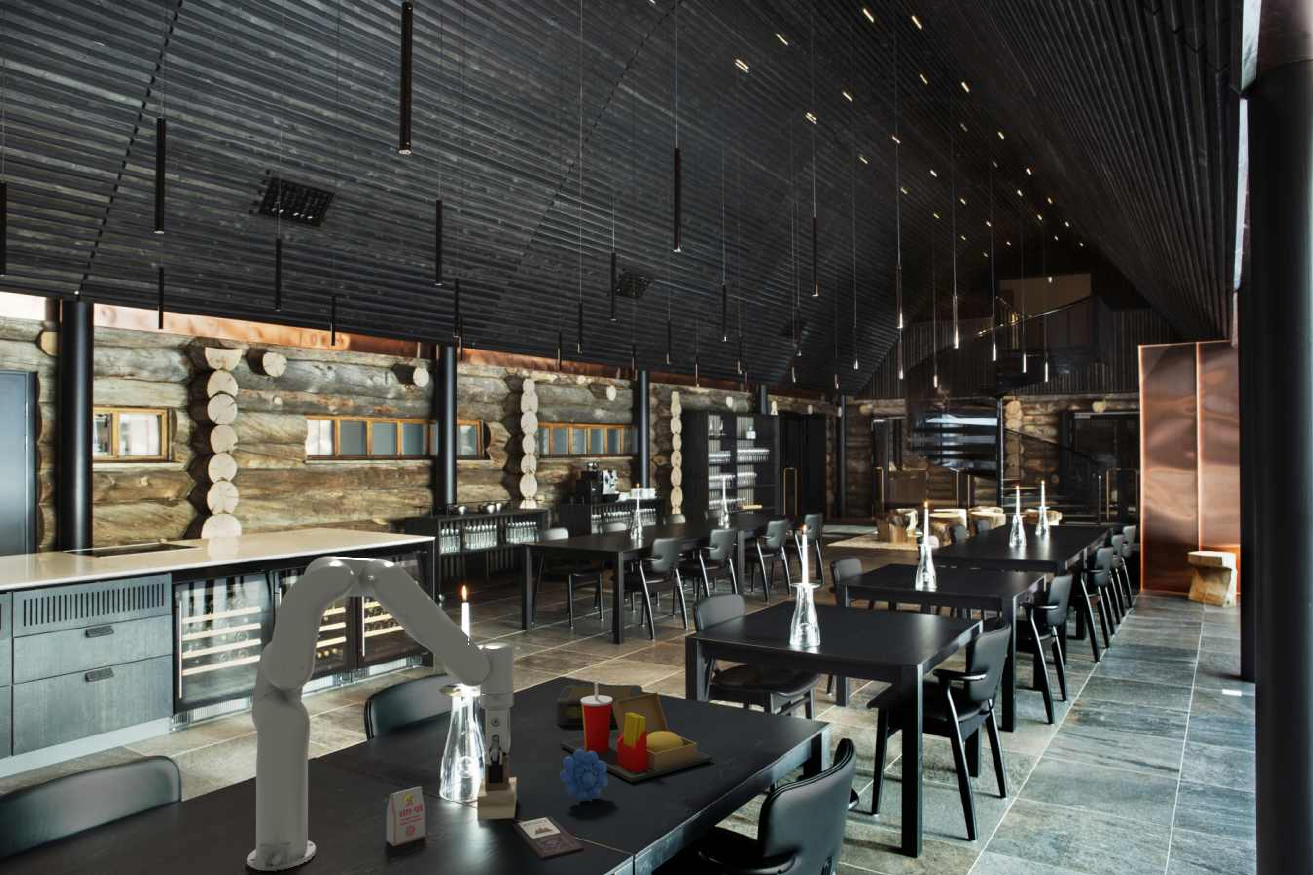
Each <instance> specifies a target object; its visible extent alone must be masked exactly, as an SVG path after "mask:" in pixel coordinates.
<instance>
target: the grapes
mask: <svg viewBox="0 0 1313 875" xmlns="http://www.w3.org/2000/svg"><path fill="white" fill-rule="evenodd" d="M562 765H563V767H564V769H563V770H561V771H560V774H559V778H560V780H561V781H562V782H563V783H565V784H566V785H565V791H566V793H567V795H569V796H577V798H578V800H579V801H581V802H587V801H588V800H589V799H590V797H592V798H593V799H595V798H596V799H598V798H600V796H602V795H601V794H602V789H601V788H605V787H606V786H608V784H609V779H608V776H607V775H606V774H605V773H606V772H607V771H608V770H607V766H606V763H605V762H604V761H600V760H599V761H598V755H597V753H596V752H595V751H589V752H587V754H585V752H584V751H583V750H581V749H577V750H576V751H575V752H574V753H573V755H572V756H566V757H565V758H564V759H563V764H562Z"/></svg>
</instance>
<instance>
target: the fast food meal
mask: <svg viewBox="0 0 1313 875" xmlns="http://www.w3.org/2000/svg"><path fill="white" fill-rule="evenodd" d="M594 685H595V695H594V696H587V697H584V698H582V699H581V703H582V714H583V725H584V726H583V735H584V736H583V737H582V736H581V737H578V738H574V739H570V740H565V741H561V742H560V745H559V746H560V747H561V748H564V749H566V750H567V751H569V752H572V753H573V754H574V752H575V751H576V750H577V749H581V750H583V751H584V752H585V754H587V752H589V751H595V752H596V753H597V755H598V761H599V760H600V761H604V762H605V763H606V766H607V770H606V771H608V772H610V773H613V774H614V775H616V776H618V777H620V778H623V779H624V780H626V781H628V782H630V783H634V782H637V781H638V782H639V781H641V780H645V779H649V778H651V777H652V778H653V777H656V776H660V775H663V774H668V773H671V772H675V771H678V770H683V769H685V768H689V767H692V766H696V765H700V764H703V763H705V764H706V763H709V762H712V761H713V756H712V755H709V754H707V753H704V752H702V751H699V750H698V743H697V742H695V741H692V740H691V739H688V738H685V737H683V736H681V735H677V734H676V733H674V732H671V731H670V729H669V726H668V723H667V719H666V717H665V713H664V710H663V707H662V703H661V700H660V696H659V694H658V692H657V691H655V692H651V693H646V694H642V695H640V696H635V697H630V698H625V699H620V700H616V701H614V702H613V703H612V704H611V702H612V698H611V697H608V696H602V695H598V685H599V682H594ZM611 705H612V709H613V712H614V716H615V719H616V723H617V729H615V730H611V731H610V729H611V728H610V715H611Z"/></svg>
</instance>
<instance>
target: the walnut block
mask: <svg viewBox="0 0 1313 875" xmlns="http://www.w3.org/2000/svg"><path fill="white" fill-rule="evenodd" d="M502 764H503V782H502V783H491V784H490V783H489V782H488V765H489V756H486V759H485V764H484V779H485V791H501V790H508V786H509V777H510V756H509V755H506V756H502Z"/></svg>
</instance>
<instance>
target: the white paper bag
mask: <svg viewBox="0 0 1313 875" xmlns="http://www.w3.org/2000/svg"><path fill="white" fill-rule="evenodd" d="M425 806H426V805H425V800H424V795H423V787H422V786H416V787H412V788H408V789H404V790H400V791H396V792H393V793H390V794H389V801H388V805H387V809H386V841H387V842H388V843H389V844H391V846H393V847H396V846H399V845H402V844H406V843H409V842H413V841H416V840H419V839H423V838H425V837H426V807H425Z"/></svg>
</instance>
